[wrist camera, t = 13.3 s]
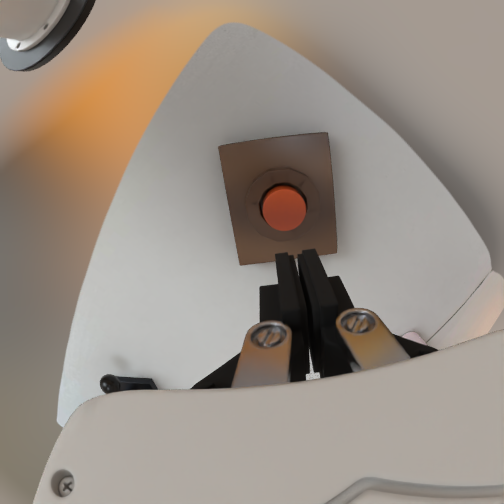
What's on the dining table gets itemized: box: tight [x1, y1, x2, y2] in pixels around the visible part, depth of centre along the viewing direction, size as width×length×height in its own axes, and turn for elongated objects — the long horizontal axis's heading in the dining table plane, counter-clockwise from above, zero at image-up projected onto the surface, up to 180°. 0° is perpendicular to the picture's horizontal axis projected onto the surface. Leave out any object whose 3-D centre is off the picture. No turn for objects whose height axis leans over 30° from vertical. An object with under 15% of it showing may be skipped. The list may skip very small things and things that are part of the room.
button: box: [263, 185, 306, 231], centre depth 24 cm, size 4×4×2 cm
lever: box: [100, 374, 121, 394], centre depth 34 cm, size 13×3×3 cm, turn 9°
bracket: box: [116, 376, 158, 392], centre depth 37 cm, size 10×8×12 cm
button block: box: [218, 132, 337, 265], centre depth 26 cm, size 12×10×4 cm
